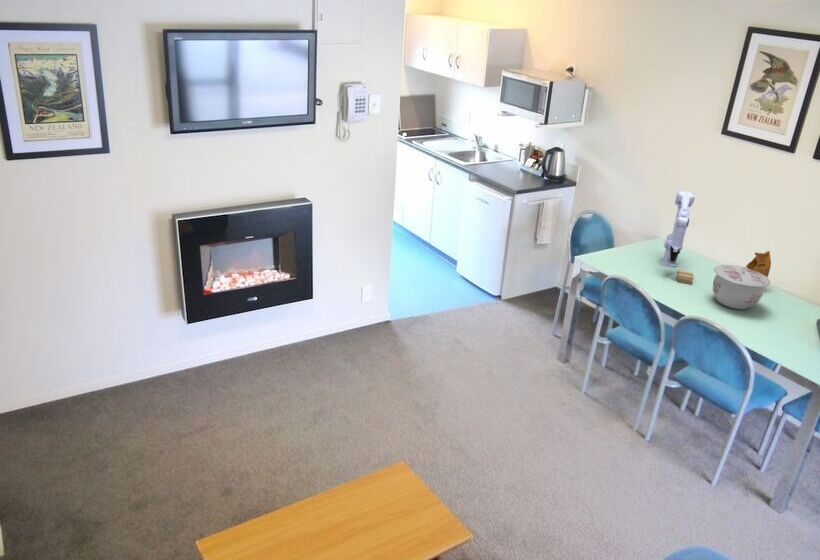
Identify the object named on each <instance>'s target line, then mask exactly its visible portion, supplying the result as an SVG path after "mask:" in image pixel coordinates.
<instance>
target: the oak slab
mask: <svg viewBox="0 0 820 560" xmlns="http://www.w3.org/2000/svg"><path fill="white" fill-rule="evenodd" d="M677 277H678V279H682V280H686V281H691V282H692V283H693V281H694V279H695V277H694V272H690V271H687V270H682V269H678V270H677V275H676V278H677Z"/></svg>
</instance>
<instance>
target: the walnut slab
mask: <svg viewBox="0 0 820 560" xmlns="http://www.w3.org/2000/svg"><path fill="white" fill-rule="evenodd" d="M676 283H680V284H683V285H689V286H692V285H693V282H691V281H686V280H682V279H678V277H677V276H676Z"/></svg>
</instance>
